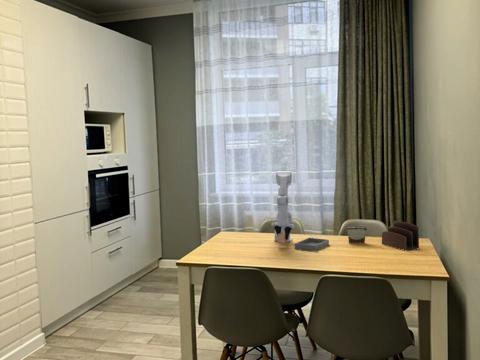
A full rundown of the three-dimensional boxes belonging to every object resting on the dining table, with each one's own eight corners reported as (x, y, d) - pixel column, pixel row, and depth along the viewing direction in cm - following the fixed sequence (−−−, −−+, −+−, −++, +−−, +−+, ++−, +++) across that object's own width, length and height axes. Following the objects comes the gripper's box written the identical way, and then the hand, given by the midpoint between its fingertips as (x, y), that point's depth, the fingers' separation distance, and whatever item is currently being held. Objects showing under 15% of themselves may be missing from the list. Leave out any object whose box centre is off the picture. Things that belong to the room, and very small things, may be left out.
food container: (365, 241, 275) (365, 225, 274) (367, 243, 269) (367, 227, 268) (345, 241, 276) (345, 225, 275) (346, 243, 270) (346, 227, 269)
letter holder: (394, 242, 270) (394, 219, 269) (419, 249, 252) (419, 224, 251) (381, 244, 266) (381, 221, 265) (405, 251, 248) (405, 226, 247)
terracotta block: (278, 242, 262) (277, 233, 262) (281, 240, 266) (281, 232, 265) (284, 243, 260) (284, 234, 259) (288, 241, 263) (288, 233, 263)
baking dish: (294, 248, 259) (294, 243, 259) (309, 242, 275) (309, 237, 274) (315, 251, 252) (315, 245, 251) (328, 244, 267) (328, 239, 267)
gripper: (268, 216, 262) (269, 238, 263) (290, 218, 254) (290, 241, 255) (274, 214, 268) (275, 236, 269) (296, 216, 260) (296, 239, 261)
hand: (283, 238), depth 263 cm, fingers closed on terracotta block, 4 cm apart
